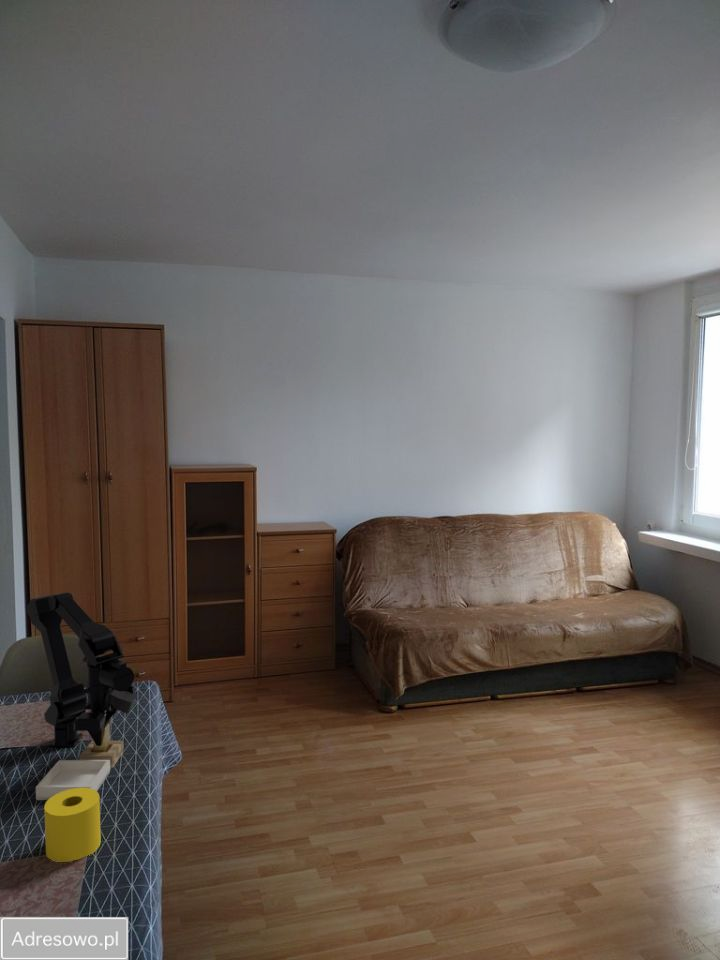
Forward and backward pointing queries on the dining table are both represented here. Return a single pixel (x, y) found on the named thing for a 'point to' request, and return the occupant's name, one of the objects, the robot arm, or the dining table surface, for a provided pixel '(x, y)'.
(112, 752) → the block
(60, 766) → the tray
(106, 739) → the pin
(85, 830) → the yellow toilet paper roll
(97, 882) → the dining table surface
